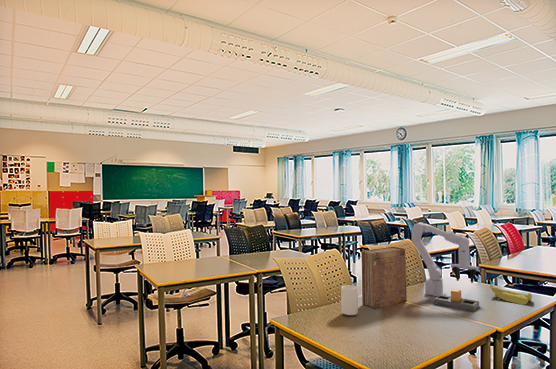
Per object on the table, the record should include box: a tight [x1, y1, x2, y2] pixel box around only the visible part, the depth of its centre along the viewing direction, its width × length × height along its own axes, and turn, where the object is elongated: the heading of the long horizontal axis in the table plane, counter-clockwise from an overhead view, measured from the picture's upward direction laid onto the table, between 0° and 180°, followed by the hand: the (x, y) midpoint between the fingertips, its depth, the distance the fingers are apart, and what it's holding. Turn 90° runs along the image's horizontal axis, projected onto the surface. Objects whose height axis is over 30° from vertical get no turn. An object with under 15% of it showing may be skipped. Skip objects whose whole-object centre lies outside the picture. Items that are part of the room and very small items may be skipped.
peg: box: [450, 289, 462, 302], centre depth 198 cm, size 4×4×8 cm
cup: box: [340, 284, 359, 316], centre depth 187 cm, size 8×8×14 cm
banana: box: [489, 284, 533, 306], centre depth 206 cm, size 20×7×10 cm
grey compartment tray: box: [433, 294, 480, 313], centre depth 198 cm, size 20×10×3 cm, turn 45°
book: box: [360, 246, 408, 310], centre depth 205 cm, size 25×9×30 cm, turn 121°
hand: (464, 281), depth 211 cm, fingers open, 7 cm apart
